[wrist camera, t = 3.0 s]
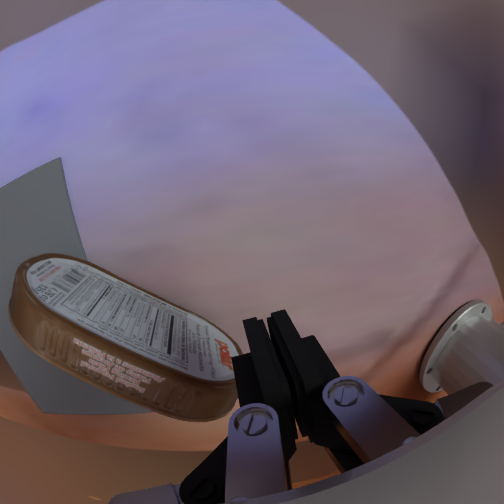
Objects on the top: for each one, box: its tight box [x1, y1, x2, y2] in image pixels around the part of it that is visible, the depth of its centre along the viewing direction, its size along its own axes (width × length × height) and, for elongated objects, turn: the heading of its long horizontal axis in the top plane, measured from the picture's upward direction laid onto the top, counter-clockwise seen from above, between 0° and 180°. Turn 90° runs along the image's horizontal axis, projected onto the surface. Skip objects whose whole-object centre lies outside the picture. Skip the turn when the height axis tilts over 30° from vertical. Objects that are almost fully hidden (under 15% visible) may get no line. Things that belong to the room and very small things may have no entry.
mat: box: [0, 158, 154, 415], centre depth 17 cm, size 15×22×1 cm
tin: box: [8, 253, 243, 422], centre depth 14 cm, size 15×3×8 cm, turn 60°
